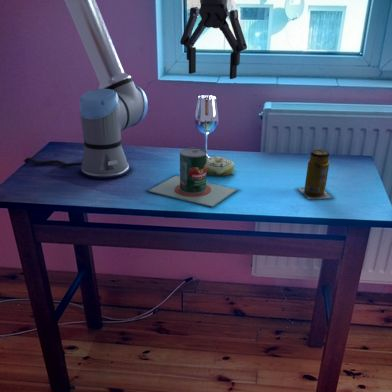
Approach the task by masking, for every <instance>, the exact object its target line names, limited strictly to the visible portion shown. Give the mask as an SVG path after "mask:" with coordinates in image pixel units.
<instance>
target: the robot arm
mask: <svg viewBox="0 0 392 392" xmlns="http://www.w3.org/2000/svg"><path fill="white" fill-rule="evenodd" d="M63 1H64V2H65V4H66V8H67V9H68V12H69V15H70V17H71V19H72V21H73V23H74V27H75V28H76V30H77V33H78V36H79V38H80V40H81V42H82V44H83V45H82V46H83V47H84V50H85V52H86V54H87V56H88V59H89V61H90V63H91V67H92V68H93V70H94V73H95V75H96V77H97V80H98V83H99V86H98V88H97V89H91V90H89V91H86V92H84V93H83V94H82V95H81V96H80V98H79V115H80V120H81V129H82V138H83V144H84V145H83V146H84V149H83V154H82V160H81V162H80V161H79V162H64V161H62V160H57V159H51V160H36V159H34V158H33V157H26V158H25V159H24V160H23V163H27V162H32V163H33V164H36V165H48V164H59V165H62V166H64V167H75V166H77V167H78V166H80V170H81V174H82V175H83V176H85V177H86V178H90V179H96V180H109V179H111V180H112V179H116V178H120V177H123V176H125V175H127V174H128V173H129V172H130V164H129V161H128V160H127V157H126V154H125V150H124V149H123V146H122V134H121V133H122V132H123V131H124V130H127V129H129V128H131V127H134V126H137V125H138V124H139V123H140V122H142V121H144V119H145V117H146V115H147V112H148V109H149V103H148V97H147V95H146V92H145V91H144V90H143V89H142V88H141V87H139V86H138V85H137V84H135V83H134V79H133V77H132V76H131V74H127V73H126V72H125V71H124V68H123V65H122V63H121V61H120V58H119V56H118V53H117V50H116V48H115V45H114V43H113V40H112V38H111V35H110V33H109V30H108V28H107V25H106V23H105V21H104V17H103V15H102V13H101V10H100V8H99V6H98V3H97V0H63ZM199 4H200V7H198V6H192V7H190V8H189V16H188V20H187V22H186V25H185V27H184V29H183V33H182V35H181V39H180V41H179V42H180V45H183V46H184V47H185V48H186V53H185V54H186V60H187V61H188V74H189V75H191V74H195V73H197V47H196V46H195V45H196V43H197V41H198V40H199V38H200V37H201V35H202V34H203V32H204V31H205V29H210V28H213V29H219V30H220V31H221V33H222V34H223V36H224V38H225V39H226V41H227V43H228V45H229V46H230V49H231V50H232V52H230V56H229V80H233V79H236V78H237V73H238V66H240V63H241V52H242V51H245V50H247V49H248V45H247V41H246V38H245V35H244V32H243V29H242V26H241V23H240V21H239V10H238V9H231V10H228V4H229V0H199ZM199 16H200V20H199V22H198V24H197V27H196V28H195V25H196V23H197V20H198V17H199ZM227 19H229V21H230V24H229V23H228V21H227ZM230 25H231V28H232V30H231V28H230ZM194 28H195V30H194Z"/></svg>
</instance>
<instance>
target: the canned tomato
mask: <svg viewBox="0 0 392 392" xmlns="http://www.w3.org/2000/svg"><path fill="white" fill-rule="evenodd" d="M207 155H208V150H207V151H206V150H205V148H201V147H185V148H182V149H180V150H179V176H180V190H181V191H182V192H184V193H187V194H199V193H202V192H204V191H206V182H207V174H206V170H207V169H206V167H207Z"/></svg>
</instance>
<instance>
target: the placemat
mask: <svg viewBox="0 0 392 392" xmlns="http://www.w3.org/2000/svg"><path fill="white" fill-rule="evenodd" d="M147 191H148V192H149V193H153V194H157V195H160V196H164V197H169V198H173V199H176V200H181V201H185V202H189V203H193V204H198V205H201V206H206V207H209V208H213V207H214V206H216V205H217V204H219V203H221V202H222V201H224V200H225V199H227V198H228V197H230V196H231V195H233V194H234V193H236V192H237V191H238V189H237V188H233V187H229V186H225V185H220V184H216V183H210V182H207V181H206V191H204V192H202V193H199V194H187V193H184V192H182V191H181V190H180V175H174V176H172V177H171V178H169V179H167V180H165V181H163V182H161V183H159V184H158V185H156V186H153V187H152V188H150V189H148V190H147Z"/></svg>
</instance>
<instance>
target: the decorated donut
mask: <svg viewBox="0 0 392 392" xmlns="http://www.w3.org/2000/svg"><path fill="white" fill-rule="evenodd" d="M235 167H236V165H235V163H234V162H233V161H232V160H231V159H230V158H226V157H222V156H212V157H209V158H207V167H206V169H207V170H206V175H208V176H214V177H215V176H216V177H224V176H228V175H232V174H233V172H234V169H235Z"/></svg>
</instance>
